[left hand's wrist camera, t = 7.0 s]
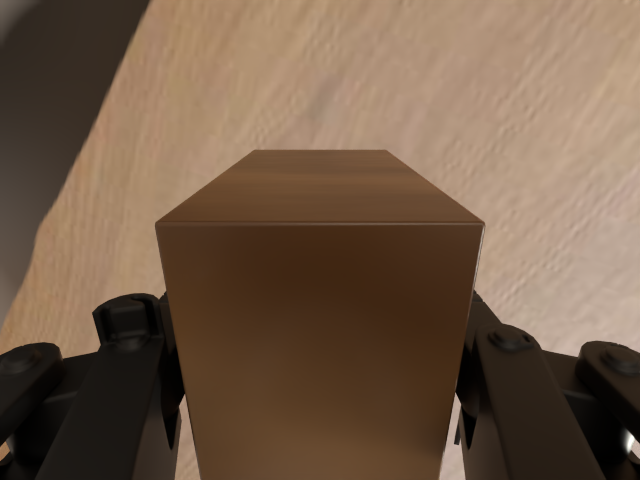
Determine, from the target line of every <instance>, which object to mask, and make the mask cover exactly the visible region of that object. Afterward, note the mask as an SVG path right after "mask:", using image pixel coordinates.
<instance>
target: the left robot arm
mask: <svg viewBox="0 0 640 480" xmlns="http://www.w3.org/2000/svg"><path fill="white" fill-rule="evenodd" d="M92 315H93V318H94V322H95V325H96V329H97V333H98V336H99V340H100V344H101V346H100V348H99V350H98V352H94V353H90V354H84V355H79V356H74V357H69V358H64V359H63V358H62V355H61V352H60V349H59V347H58V346H56V345H55V344H53V343H45V342H42V343H34V344H27V345H24V346H19V347H16V348H14V349H12V350H11V351H8V352H6V353H4V354H2V355H0V447H1V445H2V444H3V443H4V442H5V441H6V443H7V445H8V447H9V449H10V452H9V453H8V454H7V455H6V456H5V457H4V458H3V459H2V460H1V461H0V480H174V479H175V471H176V463H177V454H178V446H179V438H180V430H181V422H182V421H181V414H180V409H179V405H180V403H181V401H182V399H183V396H184V394H185V390H184V384H183V379H182V373H181V368H180V362H179V357H178V351H177V346H176V340H175V335H174V329H173V324H172V318H171V313H170V307H169V301H168V296H167V290H166V292H165V293H164V295H162V297H161V298H160V299H158V298H157V297H155V296H154V295H151V294H146V293H134V294H128V295H123V296H119V297H116V298H114V299H111V300H108V301H107V302H105V303H103V304H101V305H100V306H98V307H97V308H96V309H95V310H94V311H93V312H92ZM455 392H456V394H457V396H458V398H459V400H460V403H461V409H460V414H459V419H458V424H457V429H456V435H455V441H454V444H456V445H459V442H460V437H461V445H462V453H463V462H464V470H465V478H466V480H640V459H639V458H638V457H637V456H636V455H635V454H634V453H633V451H632V450H631V448H632V446H633V444H634V441H635V439H636V440H637V441H638V442H639V443H640V353H638V352H636V351H634V350H632V349H630V348H628V347H626V346H623V345H620V344H619V345H618V344H617V343H612V342H604V341H591V342H587V343H585V344H584V345H582V347H581V350H580V353H579V356H578V357H574V356H569V355H564V354H559V353H554V352H549V351H545V350H542V349H541V347H540V345H539V344H538V342H537V341H536V340H535V339H534V337H532V336H531V335H529V334H528V333H527V332H525V331H523V330H521V329H519V328H516V327H514V326H511V325H507V324H502V323H501V322H500V320H499V319H498V318H497V317H496V316H495V314H494V313H493V312H492V311H491V309H490V308H489V307H488V306H487V305H486V303H485V302H483V300H482V298H481V297H480V296H479V295H478V294H477V293H476V291H475V290H474V292H473V297H472V303H471V308H470V314H469V319H468V325H467V330H466V336H465V341H464V347H463V353H462V358H461V364H460V369H459V375H458V380H457V386H456V391H455Z"/></svg>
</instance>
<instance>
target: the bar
mask: <svg viewBox="0 0 640 480" xmlns="http://www.w3.org/2000/svg"><path fill="white" fill-rule="evenodd" d="M155 230H156V235H157V241H158V246H159V252H160V257H161V263H162V268H163V274H164V279H165V285H166V290H167V296H168V301H169V307H170V313H171V318H172V324H173V329H174V335H175V340H176V346H177V351H178V357H179V362H180V368H181V373H182V379H183V384H184V390H185V396H186V401H187V407H188V412H189V418H190V423H191V429H192V434H193V440H194V445H195V451H196V456H197V462H198V468H199V473H200V479H201V480H440V474H441V469H442V463H443V458H444V452H445V446H446V441H447V435H448V430H449V424H450V419H451V413H452V408H453V402H454V397H455V391H456V386H457V380H458V375H459V369H460V364H461V358H462V353H463V347H464V341H465V336H466V330H467V325H468V319H469V314H470V308H471V303H472V297H473V292H474V286H475V281H476V275H477V270H478V264H479V259H480V253H481V247H482V242H483V236H484V231H485V222H483V221H482V220H481V219H479V218H478V217H477V216H475V215H474V214H473V213H471V212H470V211H468V210H467V209H466V208H464V207H463V206H462V205H460V204H459V203H458V202H456V201H455V200H453V199H452V198H451V197H449V196H448V195H447V194H445V193H444V192H443V191H441V190H440V189H439V188H437V187H436V186H434V185H433V184H432V183H430V182H429V181H428V180H426V179H425V178H424V177H422V176H421V175H419V174H418V173H417V172H415V171H414V170H413V169H411V168H410V167H409V166H407V165H406V164H404V163H403V162H402V161H400V160H399V159H398V158H396V157H395V156H394V155H392V154H391V153H390V152H388V151H387V150H254V151H252V152H251V153H249V154H248V155H247V156H245V157H244V158H243V159H241V160H240V161H239V162H237V163H236V164H234V165H233V166H232V167H230V168H229V169H228V170H226V171H225V172H224V173H222V174H221V175H219V176H218V177H217V178H215V179H214V180H213V181H211V182H210V183H209V184H207V185H206V186H204V187H203V188H202V189H200V190H199V191H198V192H196V193H195V194H194V195H192V196H191V197H189V198H188V199H187V200H185V201H184V202H183V203H181V204H180V205H179V206H177V207H176V208H174V209H173V210H172V211H170V212H169V213H168V214H166V215H165V216H164V217H162V218H161V219H159V220H158V221H157V222H156V223H155Z"/></svg>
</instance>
